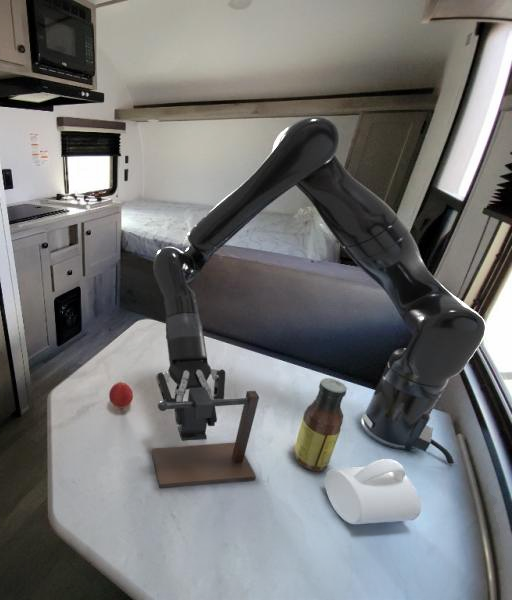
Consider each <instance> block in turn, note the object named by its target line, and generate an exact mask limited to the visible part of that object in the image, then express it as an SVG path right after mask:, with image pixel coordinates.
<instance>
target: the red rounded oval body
mask: <svg viewBox="0 0 512 600" xmlns="http://www.w3.org/2000/svg"><path fill="white" fill-rule="evenodd" d="M108 395H109V396H108V397H109V398H108V399H109V401H110V402H111V404H112V405H113V406H115V407H116V408H119V409H122V408H126V407H128V406H130V405H131V403H132V401H133V399H134V393H133V389H132V388H131V386H130V385H129V384H127V383H126V382H124V381H123V380H122V381H119V382H116V383H114V385H112V387H111V388H110V390H109V394H108Z"/></svg>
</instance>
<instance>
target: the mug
mask: <svg viewBox="0 0 512 600" xmlns="http://www.w3.org/2000/svg"><path fill="white" fill-rule="evenodd" d="M324 487H325V491H326V495H327V497H328V500H329V502H330V504H331V506H332V507H333V509H334V510H335V512H336V513H337V515H338V516H339V517H340V518H341V519H342V520H343V521H345V522H346V523H348V524H351V525H364V524H365V525H366V524H378V523H379V524H380V523H392V522H394V523H395V522H405V521H406V522H408V521H414V520H416V519H418V518H419V516H420V514H421V511H422V503H421V499H420V495H419V494H418V491H417V489H416V487H415V486H414V484H413V482H412V481H411V480H410V479H409V478H408V477H407V475H406V470H405V468H404V466H403V465H402V464H401V463H400V462H398V461H397V460H394V459H391V458H381V459H377V460H375V461H373V462H370V463H369V464H367V465H366V466H354V467H352V466H351V467H339V468H338V467H337V468H335V467H334V468H331V469H329V470H328V471H327V472H326V474H325V478H324Z"/></svg>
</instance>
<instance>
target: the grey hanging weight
mask: <svg viewBox="0 0 512 600" xmlns="http://www.w3.org/2000/svg"><path fill="white" fill-rule="evenodd" d="M187 401H193V403H194V406H195V408H183V411H184V416H185V424H186V428H180V427H179V425H178V426H177V431H178V434H179V437H180V440H181V442H187V441H202V440H207V436H208V435H207V432H206V431H207V427H208V424H207V419H208V418H211V415H212V409H213V403H212V400H211V398H210V396H209V394H208V392H207V390H206V388H205V387H198V388H189V389H188V397H187Z"/></svg>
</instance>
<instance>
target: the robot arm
mask: <svg viewBox="0 0 512 600" xmlns="http://www.w3.org/2000/svg"><path fill="white" fill-rule="evenodd" d="M339 146H340V132H339V129H338V127H337V125H336V124H335V123H334V122H333V121H332V120H330V119H328V118H326V117H322V116H310V117H306V118H305V117H304V118H302V119H300V120H297V121H296V122H294V123H292V124H291V125H289V126H288V127H287V128H285V129H284V130H283V131H281V132H280V133H279V135H278V136H277V137H276V140H275V141H274V143H273V147H272V151H271V152H270V154H269V155H268V156H267V157H266V159H265V160H264V161H263V163H262V164H261V165H260V166H259V167H258V168H257V169H256V170H255V171H254V172H253V174H251V176H249V177H248V179H246V180H245V181H244V182H243V183H242V184H241V185H239V186H238V187H237V188H236V189H235V190H233V191H232V192H231V193H230V194H228V195H227V196H226V197H225V198H223V199H222V200H221V201H220V202H219V203H217V204H216V205H215V206H214V207H213V208H212V209H211V210H210V211H209V212H208V213H207V214H206V215H204V217H202V218H201V219H200V220H199V221H198V222H197V223H196V224H195V225H194V226H193V227H192V228H191V229H190V230H189V232H188V233H187V240H188V243H189V246H188V247H187V248H186V250H185V251H182V250H180V249H178V248H176V247H173V246H165V247H163V248H161V249H159V250H158V251H157V253H156V254H155V256H154V259H153V266H152V268H153V275H154V278H155V281H156V284H157V287H158V290H159V293H160V295H161V297H162V300H163V309H164V316H165V339H166V345H167V351H168V352H167V354H168V361H169V368H168V369H167V371H164V372H158V373H156V375H155V380H156V383H157V385H158V388H159V391H160V395H161V398H162V401H165V402H180V401H184V397H185V395H186V391H187V390H189V388H198V387H205V388H206V390H207V392H208V394H209V396H210V398H211V400H212V399H225V389H226V388H225V386H226V371H225V369H216V368H212V367H211V366H210V364H209V362H208V355H207V348H206V342H205V335H204V328H203V324H202V320H201V317H200V312H199V311H200V309H199V305H198V299H197V295H196V293H195V291H194V290H192V288H191V287H190V286H189V285H188V283H190V282H192V281H193V280H195V279H196V278H197V277H198V276H199V275H200V274H201V272H202V271H203V269H204V268H205V267H206V266H207V264H208V263H209V261H210V260H211V258H212V256H213V255H214V254H215V253H216V252H217V251H219V249H221V248H222V247H223V246H225V244H227V243H228V242H229V241H230V240H231V239H232V238H233V237H235V236H236V235H237V234H238V233H239V232H240V231H242V229H243V228H245V227H246V225H247V224H249V223H250V222H251V221H252V220H253V219H254V218H255V217H257V216H258V215H259V214H260V213H261V212H263V210H265V209H266V208H267V207H268V206H269V205H270V204H272V203H273V202H274V201H276V200H277V199H278V198H280V197H281V196H282V195H285V193H286V192H288V191H289V190H291V189H292V188H294V187H297V188H298V189H299V190H300V191H301V193H302V194H304V195H305V197H306V198H307V199H308V200H309V201H310V202H311V204H312V205H313V206H314V208H315V209H316V211H317V213H318V215H319V216H320V218H321V219H322V220H323V222H324V224H325V225H326V227H327V228H328V230H329V231H330V232H331V234H332V235H333V237H334V238H335V240H336V241H337V242H338V243H339V245H340V246H341V247H342V248H343V250H344V251H345V252H346V253H347V255H348V256H349V257H350V258H351V260H352V261H353V262H354V263H355V264H356V265H357V266H358V267H359V268H360V269H361V270H362V271H363V272H364V273H365V274H366V275H367V276H369V277H370V278H371V279H372V280H373V281H374V282H375V283H377V284H378V285H379V286H380V287H381V288H382V289H383V290H384V292H385V293H386V294H387V296H388V297H389V299H390V300H391V302H392V304H393V305H394V306H395V308H396V310H397V312H398V314H399V315H400V317H401V319H402V321H403V323H404V324H405V325H404V326H405V327H406V328H407V329H408V330H409V331H410V333H411V334H412V336H411V339H410V341H409V343H408V345H407V346H406V347H405V348H404V347H403V348H398V349H396V350H394V351H393V352H392V353H391V355H390V357H389V359H388V362H387V364H386V366H385V368H384V371H383V372H382V375H381V377H380V379H379V382H378V383H377V385H376V388H375V390H374V392H373V395H372V397H371V399H370V401H369V403H368V405H367V408H366V410H365V412H363V415H362V417H361V419H360V425H361V428H362V429H363V431H364V432H365V433H366V434H367V435H368V436H369V437H371V438H372V439H373V440H374V441H377V442H378V443H380V444H381V445H384V446H386V447H390V448H392V449H398V450H404V451H406V452H409V453H410V452H412V450H413V449H414V448H416V449H418V450H420V451H423V452H427V450H428V448H429V447H430V446H431V445H432V446H433V447H434V448H436V449H437V450H439V451H440V452H441V453H442V454H443V455H444V457H445V459H446V462H447V464H449V465H453V464H455V461H454V458H453V456H452V455H451V453H450V452H449V450H447V449H446V448H445V447H444V446H443V445H441V444H439V443H438V442H437V441H436V440H435V439H433V438H432V437H433V430H434V428H433V427H431V426H429V425H428V423H429V421H430V418H431V413H432V411H433V409H434V408H435V406H436V404H437V402H438V400H439V399H440V397H441V396H442V394H443V392H444V390H445V388H446V387H447V385H448V383H449V381H450V380H451V379H452V378H454V377H455V376H457V375H459V374H460V373H461V372H462V371H463V370H464V368H466V366H467V364H468V363H469V361H470V360H471V359H472V357H473V356H474V354H475V353H476V351H477V350H478V348H479V347H480V345H481V343H482V342H483V340H484V338H485V335H486V331H487V325H486V322H485V319H483V317H482V316H481V315H480V314H479V313H478V312H477V311H475V310H474V309H472V308H471V307H470V306H468V305H467V304H466V303H464V302H463V301H462V300H460V299H459V298H458V297H456V296H455V295H453V293H451V292H450V291H449V290H448V289H446V288H445V286H443V284H441V282H439V280H438V279H437V278H436V277H435V276H434V275H433V274H432V273H431V272H430V271H429V270H428V268H427V267H426V265H425V263H424V261H423V259H422V255H421V253H420V250H419V246H418V244H417V242H416V240H415V238H414V236H413V235H412V234H411V232H410V231H409V229H408V228H407V226H406V225H405V224H404V223H403V221H402V220H401V219H400V217H399V216H398V215H397V213H396V212H395V211H394V210H393V209H392V207H390V206H389V205H388V204H387V203H386V202H385V201H383V200H382V199H381V197H379V196H378V195H376V194H375V193H374V192H372V191H371V189H369V188H367V187H366V186H365V185H364V184H362V183H361V182H360V181H358V180H357V179H355V178H354V177H353V176H352V175H351V174H350V172H349V171H348V170H347V169H346V168H345V166H344V165H343V163H342V161H340V159H339V157H338V156H337V155H336V154H337V151H338V148H339ZM210 376H211V378H212V380H213V381H214V384H213V393H212V389H211V387H210V385H209V384H208V382H207V381H208V379H209V377H210ZM169 377H170V378H171V379H172V381H173V382H174V384H175V385H176V386H175V390H174V397H172V395H171V391H170V389H169V385H168V383H169V381H170V380H169ZM173 411H174V420H175V423H176V425H178V426H179V427H180V428H186V424H185V416H184V411H183V408H180V409H173ZM217 416H218V415H217V410H216V406H213V409H212V415H211V418H208V419H207V427H215V426H216V423H217V421H218V417H217Z"/></svg>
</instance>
